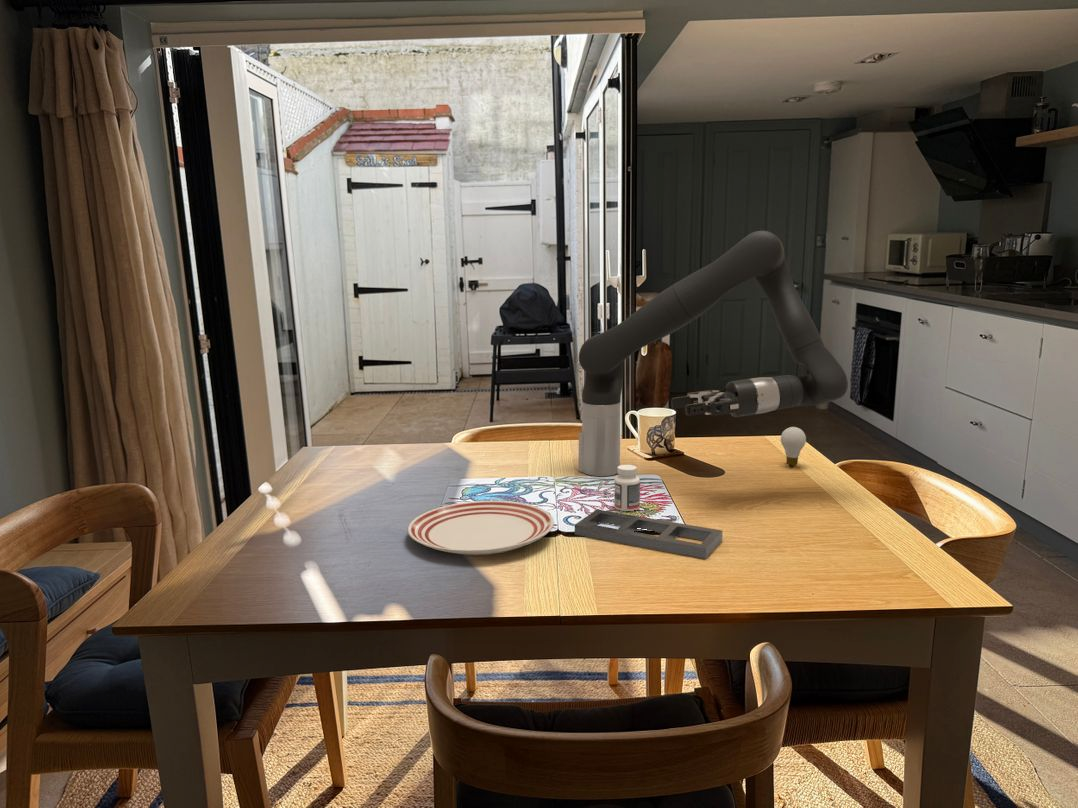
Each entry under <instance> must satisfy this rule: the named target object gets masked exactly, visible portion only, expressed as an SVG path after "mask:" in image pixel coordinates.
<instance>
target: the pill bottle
mask: <svg viewBox="0 0 1078 808" xmlns="http://www.w3.org/2000/svg"><path fill="white" fill-rule="evenodd" d="M637 470H638V468H637V466H636V465H633V464H620V466H618V469H617V474H618V475H617V476H616V477H615V478H614V482H613V483H614V492H613V493H614V497H613V498H614V503H613V504H614V509H616V511H619V510H620V511H619V512H626V511H631V512H635V511H634V510H636V511H638V510H639V509H640V506H641V497H640V496H641V480H640V478H639V477H638V476H637V474H638V471H637ZM637 509H638V510H637Z"/></svg>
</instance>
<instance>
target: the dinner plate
mask: <svg viewBox="0 0 1078 808" xmlns="http://www.w3.org/2000/svg"><path fill="white" fill-rule="evenodd" d="M554 523H555V520H554V518H553V516H552V515H551V513H549V512H548V511H546V510H545V509H544V508H541V507H538V506H535V505H532V504H530V503H529V504H528V503H523V502H519V501H518V502H517V501H509V500H476V501H475V500H474V501H467V502H466V501H465V502H459V503H452V504H448V505H444V506H443V505H442V506H440V507H437V508H434V509H431V510H429V511H426V512H424V513H422V514H420V515H418V516H417V517H415V518H414V519H413V520H411V522H410V523H409V524H408V527H407V534H408V535H409V538H411V539H412V540H413V541H415V542H417V543H419V544H421V545H423V546H425V547H428V548H431V549H433V550H435V551H436V550H437V551H441V552H445V553H449V554H450V553H451V554H458V555H466V556H488V555H496V554H500V553H501V554H502V553H506V552H509V551H513V550H516V549H519V548H522V547H525V546H527V545H530V544H532V543H534V542H537V541H538V540H540V539H542V538H543V537H545V536H546V535H547V534H549V532H550V531H551V530H552V529H553V527H554Z"/></svg>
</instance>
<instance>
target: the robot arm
mask: <svg viewBox="0 0 1078 808" xmlns="http://www.w3.org/2000/svg"><path fill="white" fill-rule="evenodd" d="M785 253H786V252H785V248H784V245H783V242H782V241H781V240H780V238H779V237H778V236H777V235H775V234H774V233H773V232H771V231H769V230H768V231H767V230H757V231H753V232H751V233H749V234H747V235H746V236H745V237H743V238H742V239H741V240H740V241H738V242H737V243H736V244H735V245H733V246H732V247H731V248H730V249H728V250H727V251H725V253H723V254H722V255H721V256H720V257H718V258H717V259H715V260H714V261H712V262H711V263H709V264H707V265H705V266H704V267H701V268H700V269H698V270H696V271H695V272H694V271H693V272H692V273H691V274H689V275H687V276H686V277H684V278H682V279H680V280H679V281H677V282H676V283H675V282H674V283H673V284H672V285H670V286H669V287H667V288H666V289H664V290H663V291H660V292H659V293H658V294H657V295H655V296H653V297H652V298H651V299H649V301H647V302H645V304H643V305H642V306H641V307H639V308H638V309H637V310H635V312H633V313H632V314H630V316H629V317H627V318H626V319H625V320H623V321H621V322H620V323H618V324H617V325H615V326H613V327H610V328H609V329H607V330H605V331H604V332H601V333H598V334H596V335H592V336H591V337H589V338H588V339H586V340H585V341H584V343H583V344H582V345H581V347H580V349H579V353H578V361H579V365H580V366H581V369H582V370H583V371H585V372H584V373H585V374H584V375H585V376H584V377H585V378H584V385H583V387H582V391H581V432H579V433H578V472H581V473H583V474H586V475H589V476H596V477H608V476H615V475H617V474H618V473H617V469H618V466H620V465H621V422H622V421H621V419H622V418H621V413H622V412H621V407H622V405H621V404H622V402H621V401H622V400H621V399H622V392H623V391H622V390H623V386H624V363H625V362H624V361H625V360H626V359H628V358H629V357H631V356H632V355H633V354H634V353H637V351H639V350H641V349H642V348H644V347H647V346H648V345H650V344H652V343H654V342H657V341H659V340H661V339H663V338H665V337H668V336H669V335H671V334H673V333H674V332H677V331H678V330H680V329H681V328H684V327H685V326H687V325H689V324H690V323H692V322H694V320H696V319H698V318H699V317H701V316H702V315H704V314H705V313H706V312H707V311H709V309H711V308H712V307H713V306H714V305H715V304H716V303H717V302H719V300H721V299H722V298H723V297H724V296H725V295H727V294H728V293H729V292H730V291H732V290H733V289H735V288H736V287H739V286H740V285H742V284H744V283H746V282H748V281H750V280H752V279H755V280H756V282H757V284H758V285H759V287H760V288H761V290H762V291H763V293H764V295H765V297H766V299H767V301H768V302H769V305H770V307H771V310H772V313H773V315H774V318H775V320H776V323H777V327H778V329H779V331H780V334H781V336H782V337H781V338H782V339H783V341H784V343H785V345H786V348H787V350H788V352H789V353H790V356H791V358H792V359H793V362H794V363H796V364H797V365H803V366H804V368H806V370H807V371H808V373H807V374H803V375H797V376H796V375H793V374H785V375H777V376H769V377H768V376H767V377H766V376H765V377H763V376H762V377H752V378H745V379H739V380H732V381H729V382H727V384H726V385H725V389H724V390H723V392H721V391H720V390H715V389H710V390H699V391H694V392H691V391H690V392H687V395H685V396H677V397H672V398H671V399H670V405H671V408H672V409H675V410H676V409H680V408H681V409H682V408H684V413H685V415H686V416H688V417H692V416H698V415H707V416H709V415H710V416H712V417H716V416H721V415H727V414H730V415H731V416H732V417H733V418H739V417H745V416H753V415H758V414H765V413H769V412H772V411H777V410H784V409H790V408H795V407H811V406H812V407H813V406H819V405H825V404H828V403H831V402H833V401H837V400H839V399H841V398H842V397H844V396H845V395H846V393H847V391H848V387H849V384H848V383H849V381H848V377H847V375H846V372H845V370H844V368H843V367H842V365H841V364H840V363H839V361H838V360H837V359H836V358H835V356H833V354H832V352H831V351H830V350H829V349H828V348H827V347H826V346H825V343H824V341H823V339H822V337H821V335H820V333H819V330H818V329H817V327H816V325H815V323H814V321H813V318H812V316H811V315H810V313H809V311H808V310H807V308H806V306H805V303H804V302H803V300H802V299H801V297H800V294H799V293H798V290H797V288H796V287H795V284H794V282H793V280H792V276H791V274H790V273H791V272H790V270H789V266H788V263H787V259H786V256H785ZM694 398H697V400H694Z"/></svg>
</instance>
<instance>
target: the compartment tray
mask: <svg viewBox="0 0 1078 808" xmlns="http://www.w3.org/2000/svg"><path fill="white" fill-rule="evenodd" d="M599 522H602V523H601V524H605V523H609V524H608V525H611V524H614V525H613V526H616V525H620V526H618V528H614V527H609V526H603V525H599V524H600V523H599ZM598 523H599V524H598ZM637 528H641V529H647V530H652V531H655V532H654V533H656V532H657V533H656V534H659V535H654V534H653V535H652V534H647V533H642V532H637V530H638V529H637ZM636 529H637V530H636ZM635 530H636V531H635ZM634 531H635V532H634ZM723 532H724V531H723V530H722V529H715V528H710V527H704V526H697V525H692V524H686V523H681V522H674V521H673V522H672V521H668V520H662V519H656V518H652V517H651V518H650V517H645V516H639V515H638V516H637V515H634V514H633V515H632V514H626V513H621V512H616V511H608V510H603V509H602V510H601V509H595V510H593V511H592V512H591V513H589V514H588V515H587V516H585V517H583V518H582V519H581V520H579V521H578V522H576V523H575V524H574V536H579V537H583V538H584V537H585V538H590V539H596V540H600V541H607V542H611V543H616V544H617V543H618V544H620V545H621V544H622V545H626V546H627V545H628V546H632V547H636V548H637V547H638V548H643V549H644V548H645V549H648V550H654V551H658V552H659V551H660V552H665V553H669V554H675V555H680V556H681V555H682V556H686V557H691V558H696V559H702V560H707V559H708V558H709V556H710V555H712V554H713V552H714V551H715V550H716V548H717V547H718V546H719V545H720V543H722V542H723ZM677 537H679V538H686V539H692V540H697V541H702V542H701V543H697V542H692V541H686V540H681V539H677Z"/></svg>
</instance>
